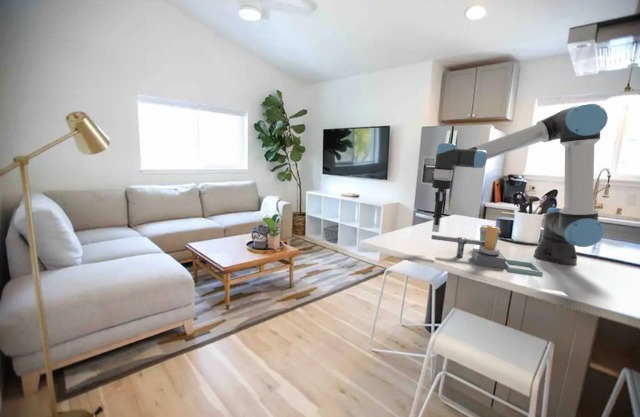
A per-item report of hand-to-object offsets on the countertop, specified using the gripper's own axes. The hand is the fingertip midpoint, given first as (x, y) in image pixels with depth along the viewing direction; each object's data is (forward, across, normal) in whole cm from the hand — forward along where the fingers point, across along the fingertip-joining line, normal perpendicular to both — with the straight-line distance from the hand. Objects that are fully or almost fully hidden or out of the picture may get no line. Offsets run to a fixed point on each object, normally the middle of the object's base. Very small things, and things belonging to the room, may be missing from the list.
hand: (435, 231), depth 135 cm
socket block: (+9, +9, +17) cm, 21 cm away
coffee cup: (+9, -12, +24) cm, 29 cm away
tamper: (+8, +10, +20) cm, 24 cm away
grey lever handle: (+9, +6, +10) cm, 15 cm away
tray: (+9, +11, +32) cm, 35 cm away
